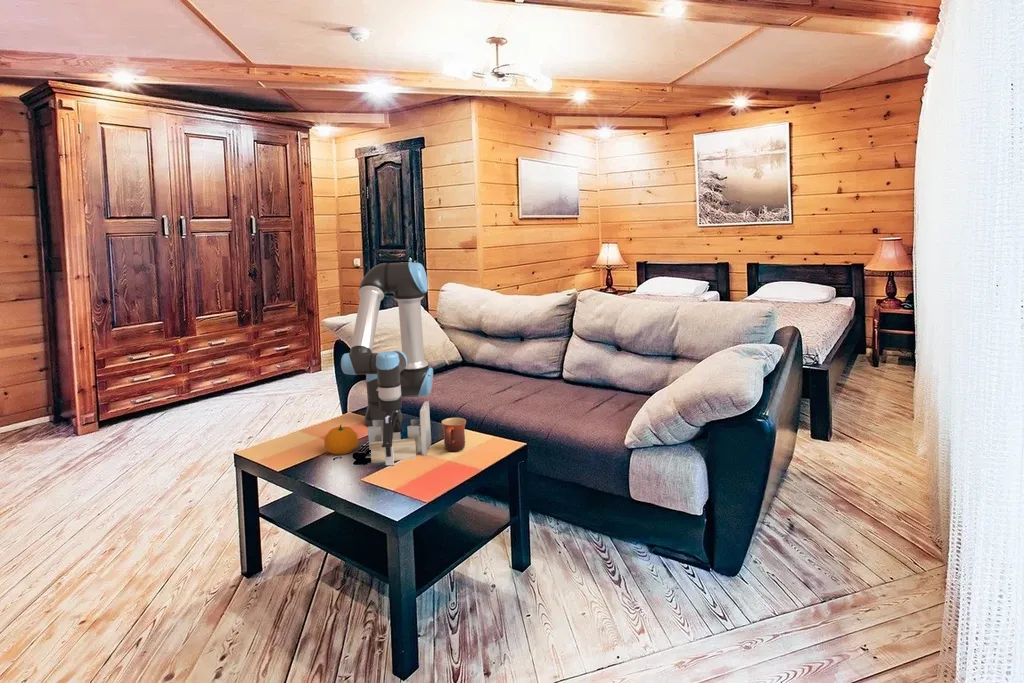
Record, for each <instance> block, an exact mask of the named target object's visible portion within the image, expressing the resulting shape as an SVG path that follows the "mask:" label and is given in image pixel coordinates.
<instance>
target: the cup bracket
mask: <svg viewBox="0 0 1024 683" xmlns="http://www.w3.org/2000/svg"><path fill="white" fill-rule="evenodd" d="M430 414H431V413H430V400H424V403H423V404H422V406H421V407H420V410H419V418H411V419H410V425H407V428H406V429H407V439H409V438H415V444H416V454H421V456H427V455H428V453H429V450H430V447H431V445H432V435H431V434H432V432H431V430H432V429H431V418H430Z"/></svg>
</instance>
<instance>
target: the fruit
mask: <svg viewBox="0 0 1024 683" xmlns="http://www.w3.org/2000/svg"><path fill="white" fill-rule="evenodd" d="M358 445H359V437H358V434H357V432H356V431H355V430H354V429H352V428H351V427H350V426H342V424H340V425H339V426H335V427H333V428H332V429H330V430H329V431H328V432H327V433H326V435H325V437H324V448H325V450H326V451H327V452H328V453H330V454H333V455H338V456H339V455H340V456H341V455H346V454H349V453H352V452H353V451H355V449H356V448H357V447H358Z"/></svg>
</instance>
